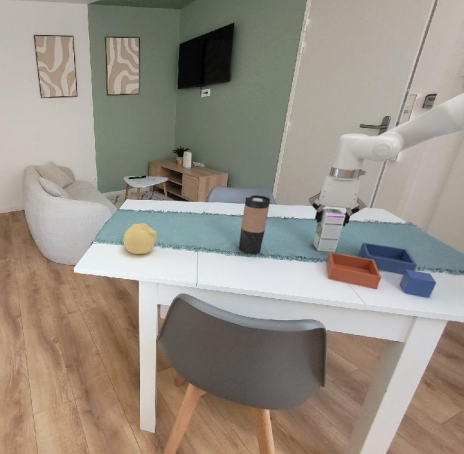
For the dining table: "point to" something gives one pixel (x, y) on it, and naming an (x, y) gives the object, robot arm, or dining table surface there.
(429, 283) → the blue block
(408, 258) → the blue bin
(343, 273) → the terracotta bin
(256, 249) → the travel mug
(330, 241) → the syrup box
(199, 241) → the dining table surface
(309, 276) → the dining table surface
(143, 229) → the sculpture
